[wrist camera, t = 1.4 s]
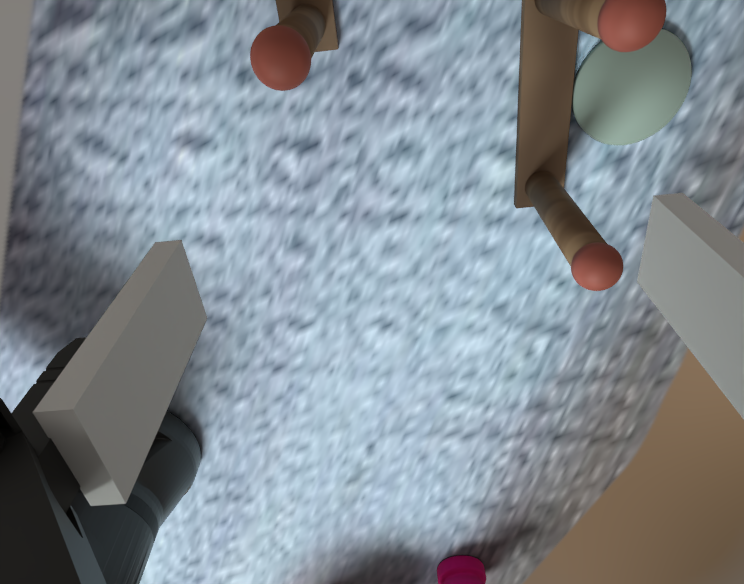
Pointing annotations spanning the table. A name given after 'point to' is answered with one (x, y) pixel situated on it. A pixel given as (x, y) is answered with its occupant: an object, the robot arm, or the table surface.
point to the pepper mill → (461, 570)
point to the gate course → (535, 100)
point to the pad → (631, 90)
